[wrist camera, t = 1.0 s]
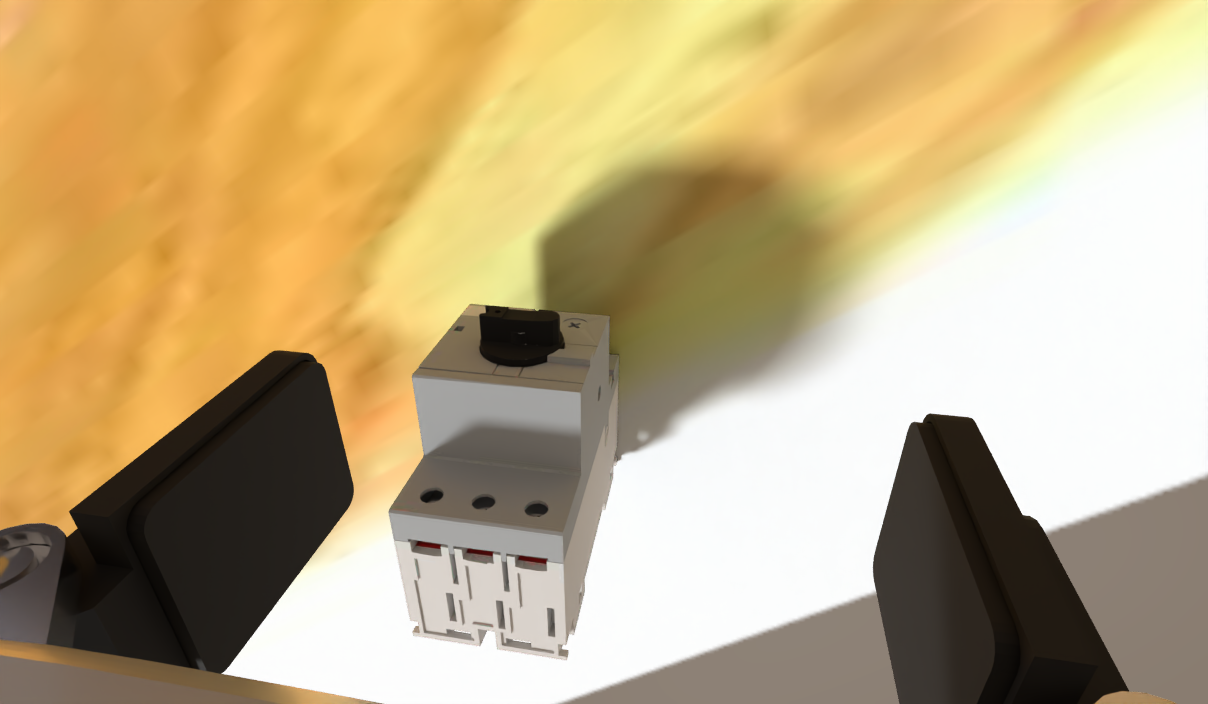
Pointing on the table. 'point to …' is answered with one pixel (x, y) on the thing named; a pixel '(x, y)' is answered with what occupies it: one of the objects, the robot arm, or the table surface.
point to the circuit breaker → (508, 477)
